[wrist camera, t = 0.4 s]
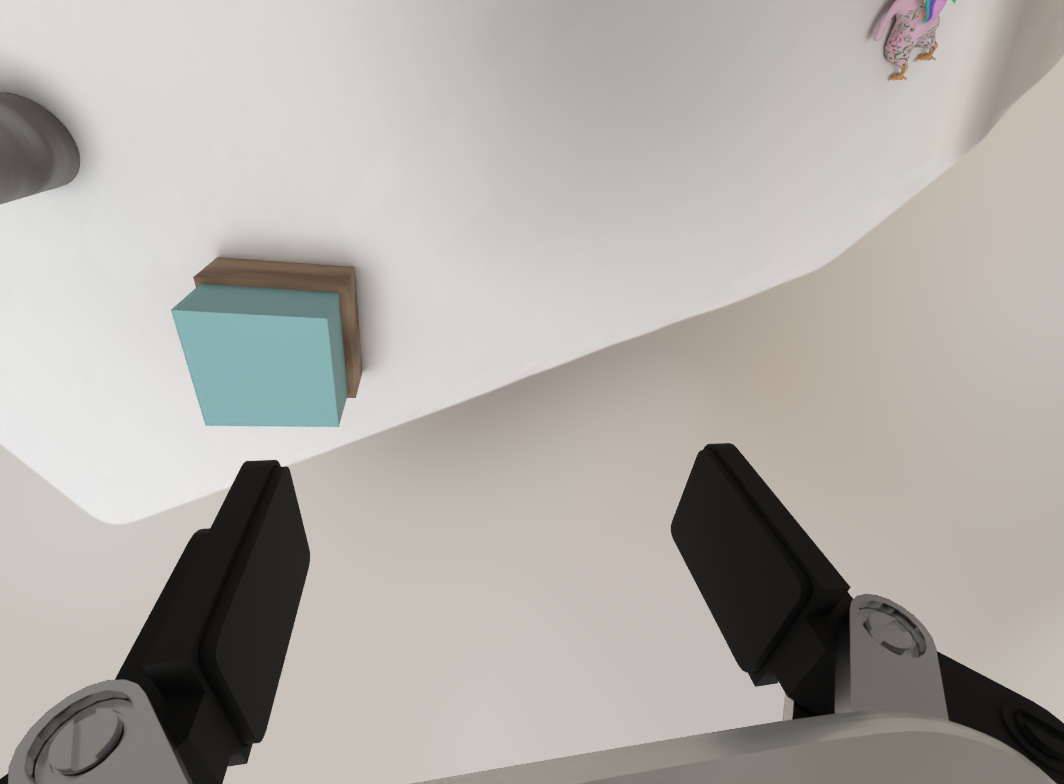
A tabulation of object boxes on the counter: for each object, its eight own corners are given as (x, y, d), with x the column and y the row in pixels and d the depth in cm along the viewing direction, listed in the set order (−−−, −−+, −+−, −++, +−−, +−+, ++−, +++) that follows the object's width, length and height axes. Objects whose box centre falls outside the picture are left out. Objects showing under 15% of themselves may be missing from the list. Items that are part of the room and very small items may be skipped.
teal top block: (201, 283, 36) (170, 310, 32) (338, 292, 38) (327, 318, 34) (228, 391, 41) (205, 425, 37) (347, 393, 44) (338, 426, 40)
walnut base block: (218, 256, 40) (193, 277, 36) (354, 266, 42) (345, 286, 38) (244, 367, 46) (225, 396, 42) (362, 370, 48) (355, 397, 44)
